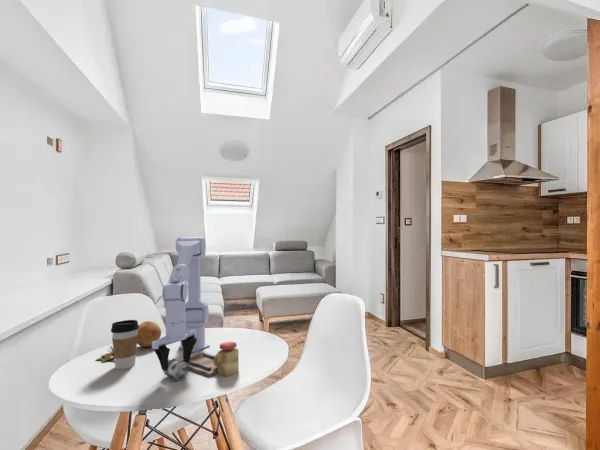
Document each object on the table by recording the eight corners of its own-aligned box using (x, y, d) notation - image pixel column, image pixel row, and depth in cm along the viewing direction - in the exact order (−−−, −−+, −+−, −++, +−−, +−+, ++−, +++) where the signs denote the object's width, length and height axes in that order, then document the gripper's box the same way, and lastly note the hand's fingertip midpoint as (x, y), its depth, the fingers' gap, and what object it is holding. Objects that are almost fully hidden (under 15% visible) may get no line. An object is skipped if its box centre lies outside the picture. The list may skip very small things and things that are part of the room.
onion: (167, 343, 130) (166, 319, 130) (146, 352, 121) (146, 325, 121) (149, 341, 134) (149, 317, 134) (128, 349, 125) (128, 323, 125)
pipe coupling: (163, 377, 98) (162, 361, 98) (177, 371, 102) (177, 356, 102) (174, 382, 95) (174, 365, 95) (189, 376, 99) (188, 360, 99)
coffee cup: (105, 369, 106) (104, 323, 106) (126, 359, 114) (126, 317, 114) (123, 372, 103) (123, 325, 103) (144, 362, 111) (144, 319, 111)
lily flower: (86, 363, 112) (86, 350, 112) (113, 351, 124) (113, 339, 124) (115, 366, 110) (115, 352, 110) (140, 353, 121) (140, 341, 121)
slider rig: (176, 365, 107) (176, 339, 108) (203, 354, 117) (202, 330, 117) (220, 381, 95) (220, 351, 95) (246, 367, 104) (246, 341, 104)
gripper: (161, 329, 91) (161, 377, 90) (202, 317, 103) (203, 360, 102) (147, 325, 95) (148, 371, 94) (189, 315, 107) (189, 356, 106)
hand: (175, 365), depth 98 cm, fingers open, 7 cm apart
